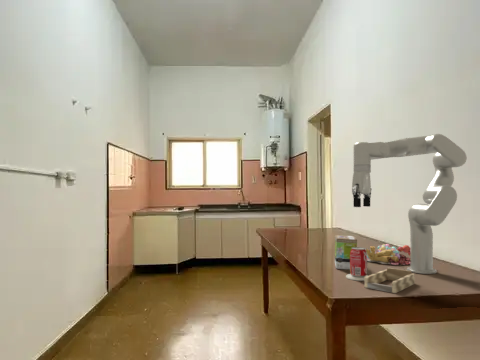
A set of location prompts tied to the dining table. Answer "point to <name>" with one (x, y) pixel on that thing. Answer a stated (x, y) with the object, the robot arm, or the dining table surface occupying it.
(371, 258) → the candy platter
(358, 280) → the coaster
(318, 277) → the dining table surface
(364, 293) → the dining table surface
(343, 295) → the dining table surface
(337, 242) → the tea box
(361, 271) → the soda can
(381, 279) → the light wood rectangular frame
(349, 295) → the dining table surface
